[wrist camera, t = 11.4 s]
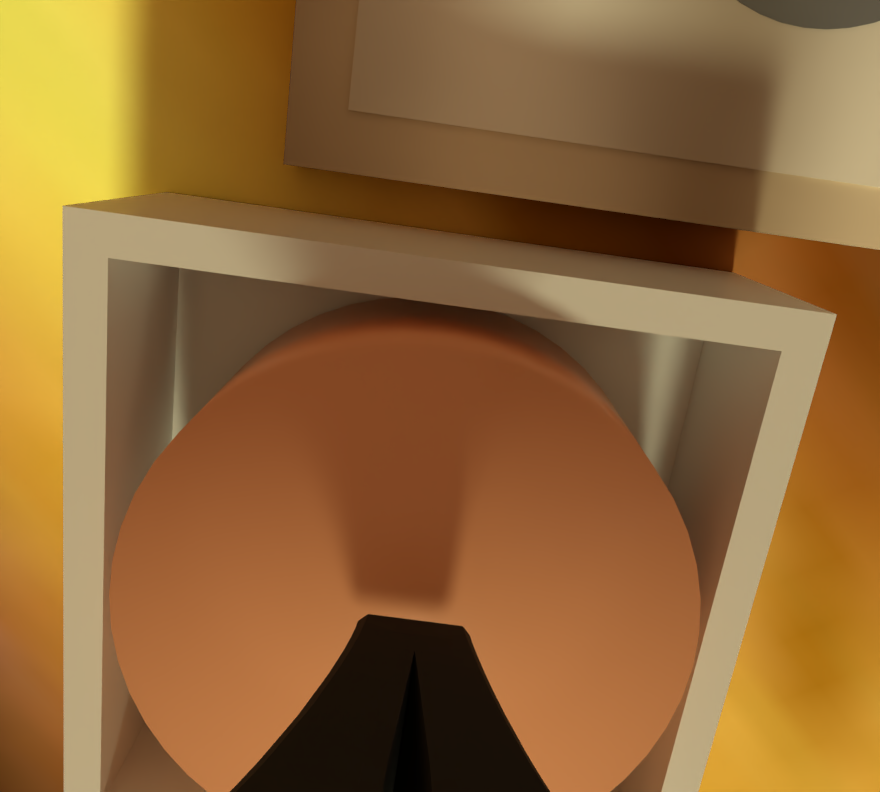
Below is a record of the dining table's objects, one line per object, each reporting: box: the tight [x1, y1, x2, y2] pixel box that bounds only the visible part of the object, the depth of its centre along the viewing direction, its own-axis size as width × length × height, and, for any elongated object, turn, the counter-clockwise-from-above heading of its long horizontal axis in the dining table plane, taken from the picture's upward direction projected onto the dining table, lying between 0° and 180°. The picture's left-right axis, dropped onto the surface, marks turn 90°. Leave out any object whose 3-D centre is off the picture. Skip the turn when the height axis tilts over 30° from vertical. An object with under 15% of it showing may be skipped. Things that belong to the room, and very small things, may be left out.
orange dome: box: [109, 298, 701, 792], centre depth 13 cm, size 8×8×4 cm
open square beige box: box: [63, 192, 837, 792], centre depth 14 cm, size 10×10×4 cm
